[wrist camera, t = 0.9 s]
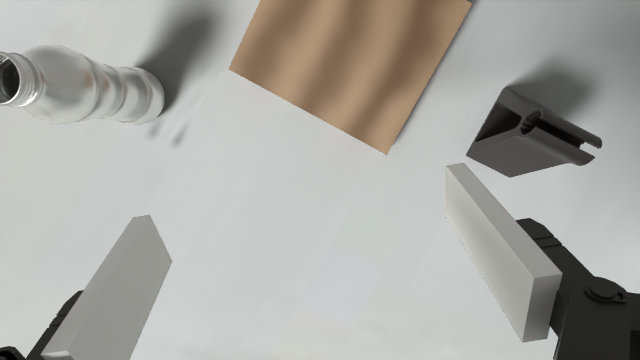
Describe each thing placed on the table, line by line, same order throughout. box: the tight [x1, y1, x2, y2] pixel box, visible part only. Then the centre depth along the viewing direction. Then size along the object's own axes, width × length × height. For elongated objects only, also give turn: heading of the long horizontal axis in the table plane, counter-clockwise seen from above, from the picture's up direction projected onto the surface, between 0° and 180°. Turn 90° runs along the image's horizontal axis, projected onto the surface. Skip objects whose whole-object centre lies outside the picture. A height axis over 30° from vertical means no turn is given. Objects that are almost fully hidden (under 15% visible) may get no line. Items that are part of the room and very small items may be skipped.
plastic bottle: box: [0, 45, 165, 125], centre depth 35 cm, size 6×7×20 cm
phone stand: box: [466, 88, 602, 177], centre depth 38 cm, size 9×6×12 cm, turn 154°
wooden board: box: [229, 0, 472, 155], centre depth 41 cm, size 20×18×4 cm
